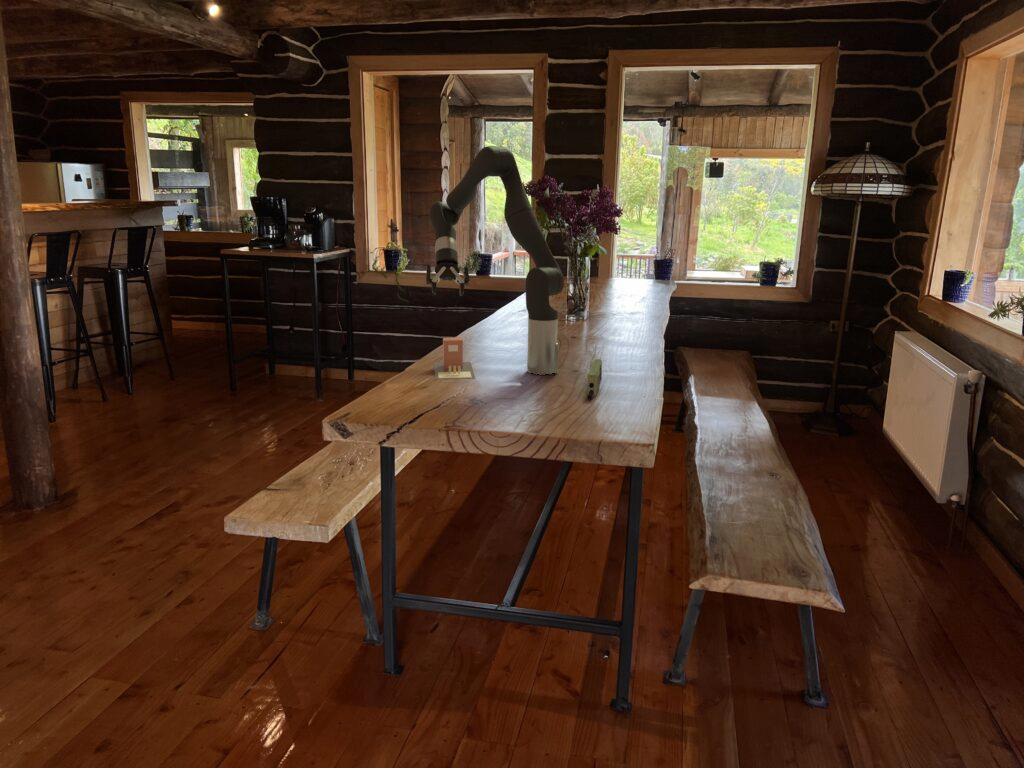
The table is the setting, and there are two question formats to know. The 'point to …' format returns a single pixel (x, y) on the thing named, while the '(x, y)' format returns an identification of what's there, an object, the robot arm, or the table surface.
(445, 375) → the pin board
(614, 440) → the table surface
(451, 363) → the block
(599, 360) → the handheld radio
